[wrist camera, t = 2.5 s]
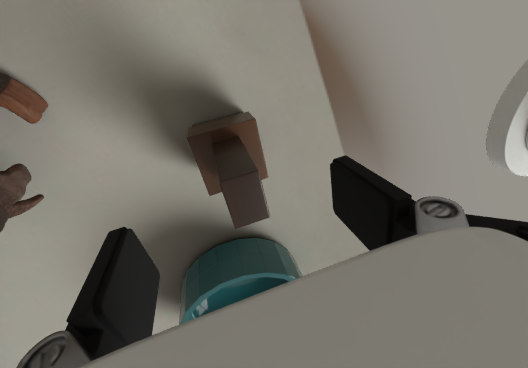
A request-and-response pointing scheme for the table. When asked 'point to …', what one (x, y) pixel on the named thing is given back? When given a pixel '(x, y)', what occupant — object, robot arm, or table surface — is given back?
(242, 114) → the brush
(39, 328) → the table surface
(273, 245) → the bowl
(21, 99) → the pottery mug
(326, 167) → the table surface
